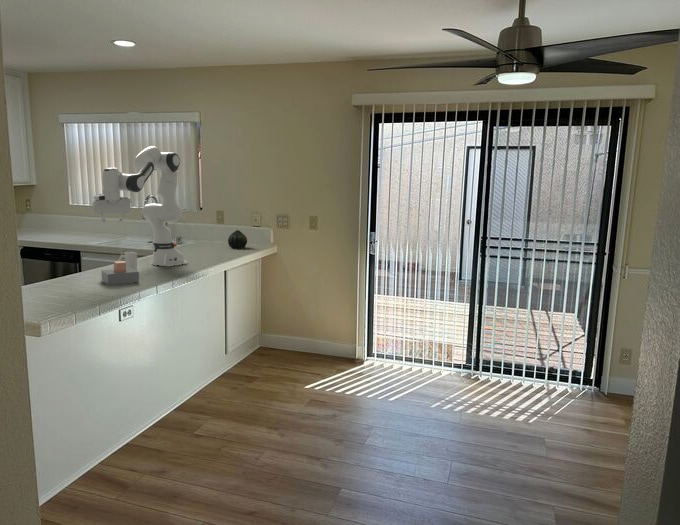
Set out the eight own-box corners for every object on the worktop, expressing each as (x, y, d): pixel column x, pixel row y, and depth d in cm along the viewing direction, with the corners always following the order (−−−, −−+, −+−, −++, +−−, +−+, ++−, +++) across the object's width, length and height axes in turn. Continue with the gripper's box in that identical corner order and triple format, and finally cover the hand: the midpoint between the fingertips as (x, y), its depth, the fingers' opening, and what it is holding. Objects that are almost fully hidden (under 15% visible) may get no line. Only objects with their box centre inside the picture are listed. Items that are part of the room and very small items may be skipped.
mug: (137, 271, 312) (137, 251, 309) (136, 273, 305) (136, 253, 303) (119, 271, 309) (119, 251, 307) (118, 273, 302) (117, 253, 300)
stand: (131, 278, 293) (131, 267, 292) (138, 282, 284) (138, 271, 283) (101, 281, 283) (101, 270, 282) (108, 285, 274) (107, 274, 273)
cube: (123, 269, 286) (123, 260, 285) (126, 271, 282) (126, 262, 281) (113, 270, 283) (113, 261, 282) (116, 272, 279) (116, 263, 278)
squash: (235, 243, 401) (244, 228, 408) (221, 242, 409) (230, 227, 415) (245, 254, 411) (253, 238, 418) (231, 252, 419) (239, 237, 426)
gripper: (128, 196, 300) (129, 220, 302) (90, 196, 287) (91, 221, 290) (132, 197, 295) (132, 221, 298) (93, 197, 282) (94, 222, 285)
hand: (112, 221), depth 293 cm, fingers open, 8 cm apart
